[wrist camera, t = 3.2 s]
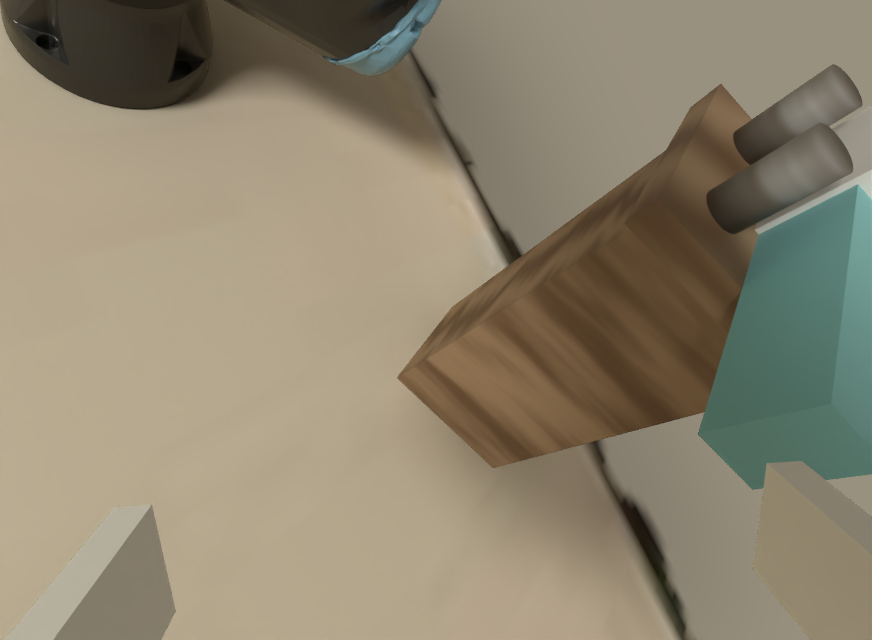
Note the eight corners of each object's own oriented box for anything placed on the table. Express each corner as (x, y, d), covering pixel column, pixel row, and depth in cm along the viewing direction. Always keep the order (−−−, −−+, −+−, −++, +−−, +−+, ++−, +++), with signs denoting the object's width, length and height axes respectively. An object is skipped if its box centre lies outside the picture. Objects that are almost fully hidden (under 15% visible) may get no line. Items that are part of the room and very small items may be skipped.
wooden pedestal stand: (491, 493, 50) (999, 389, 22) (375, 386, 48) (771, 127, 20) (548, 389, 58) (977, 216, 30) (450, 293, 56) (810, 14, 28)
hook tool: (757, 494, 20) (962, 470, 16) (692, 428, 20) (882, 382, 15) (816, 208, 32) (942, 145, 28) (775, 162, 32) (897, 90, 27)
